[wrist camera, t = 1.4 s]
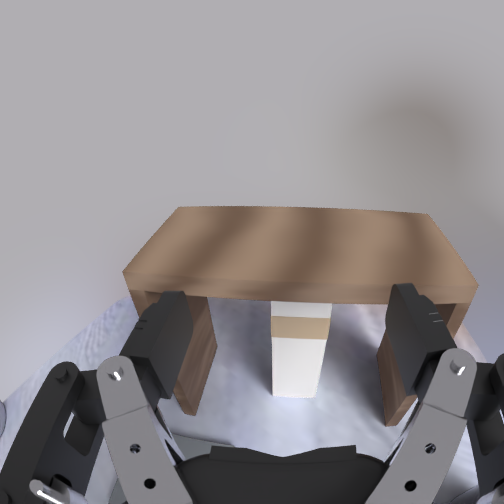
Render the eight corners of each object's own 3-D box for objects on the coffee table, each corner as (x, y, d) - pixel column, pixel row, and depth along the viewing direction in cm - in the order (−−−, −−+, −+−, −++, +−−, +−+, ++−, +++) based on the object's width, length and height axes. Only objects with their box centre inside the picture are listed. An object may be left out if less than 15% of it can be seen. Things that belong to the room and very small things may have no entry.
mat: (111, 505, 17) (108, 503, 16) (142, 427, 25) (139, 424, 24) (214, 538, 15) (212, 538, 14) (235, 448, 23) (234, 445, 23)
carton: (272, 396, 28) (270, 298, 21) (276, 363, 32) (276, 263, 25) (315, 398, 28) (333, 300, 20) (316, 365, 32) (330, 264, 24)
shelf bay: (184, 413, 27) (122, 271, 17) (208, 345, 35) (178, 206, 26) (396, 425, 23) (478, 285, 14) (385, 354, 31) (427, 214, 22)
